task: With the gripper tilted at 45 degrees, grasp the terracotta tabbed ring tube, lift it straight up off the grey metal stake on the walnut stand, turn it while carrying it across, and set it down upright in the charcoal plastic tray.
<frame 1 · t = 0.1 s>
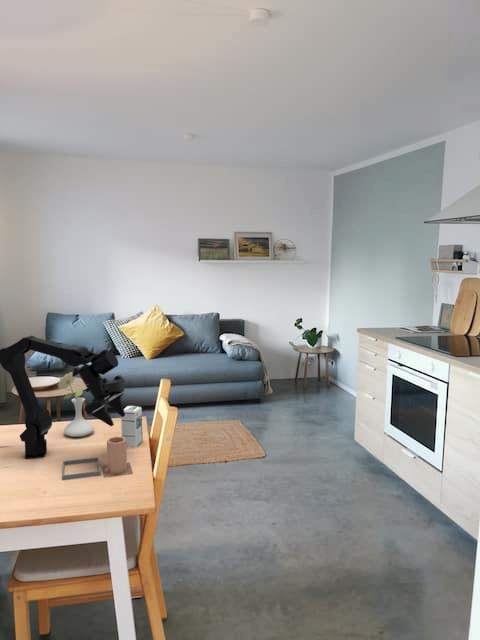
hand: (118, 420, 168), 15 cm above the table, tool tilted 35°, fingers open, 9 cm apart
syrup box: (132, 447, 185), on the table
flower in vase: (77, 434, 196), on the table
ring tube: (117, 469, 163), point 1 cm above the table, touching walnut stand
charcoal tray: (81, 472, 163), on the table
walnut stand: (117, 472, 163), on the table
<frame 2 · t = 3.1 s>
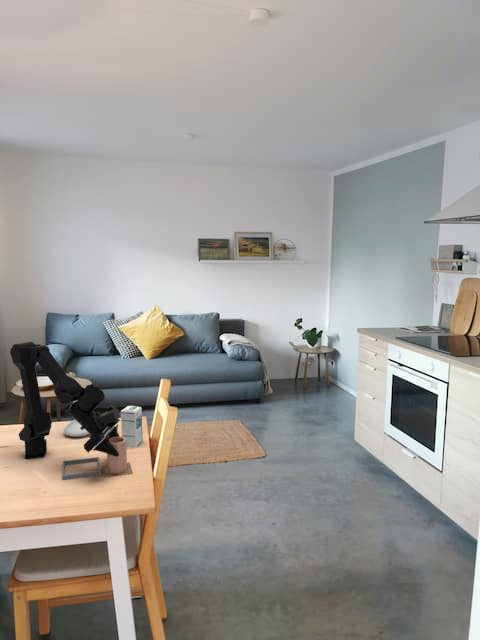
hand: (121, 451, 162), 7 cm above the table, tool tilted 45°, fingers closed on ring tube, 6 cm apart
ring tube: (117, 469, 163), point 1 cm above the table, touching gripper, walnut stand
everything else where it was.
when the fingers open (8 cm above the table, at t = 9.2 s): ring tube stays where it is, resting on charcoal tray.
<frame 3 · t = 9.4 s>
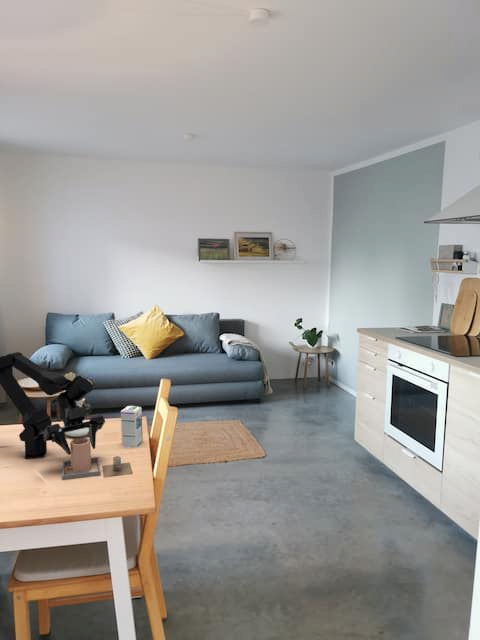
hand: (82, 451, 160), 8 cm above the table, tool tilted 45°, fingers open, 8 cm apart
ring tube: (81, 471, 162), point 1 cm above the table, touching charcoal tray
everything else where it was.
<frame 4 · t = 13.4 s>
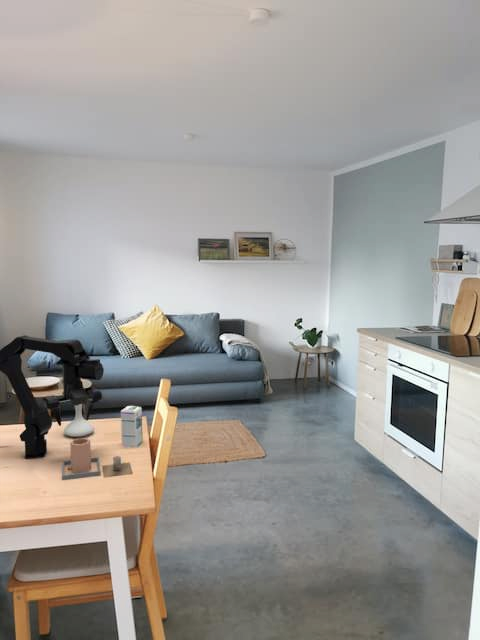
hand: (73, 422, 171), 13 cm above the table, tool pointing down, fingers open, 9 cm apart
nothing on the table moved.
at the end: ring tube 0.1 cm off-centre on the charcoal tray, point 0.6 cm above the charcoal tray's base; ring tube tilted 0°; the gripper is holding nothing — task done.
